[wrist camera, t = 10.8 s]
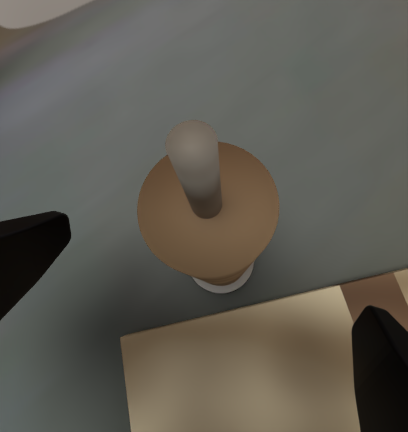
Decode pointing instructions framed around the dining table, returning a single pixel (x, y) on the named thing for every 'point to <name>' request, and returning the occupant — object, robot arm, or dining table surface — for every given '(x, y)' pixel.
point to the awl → (208, 208)
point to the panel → (257, 363)
